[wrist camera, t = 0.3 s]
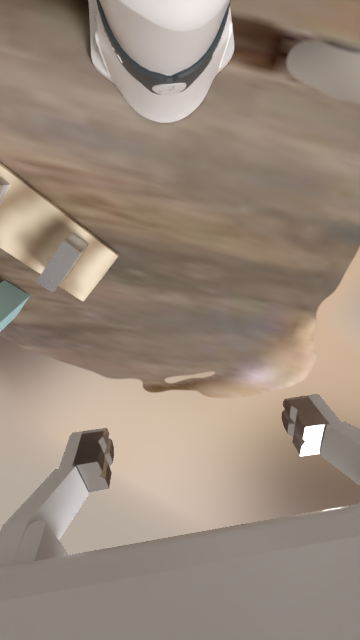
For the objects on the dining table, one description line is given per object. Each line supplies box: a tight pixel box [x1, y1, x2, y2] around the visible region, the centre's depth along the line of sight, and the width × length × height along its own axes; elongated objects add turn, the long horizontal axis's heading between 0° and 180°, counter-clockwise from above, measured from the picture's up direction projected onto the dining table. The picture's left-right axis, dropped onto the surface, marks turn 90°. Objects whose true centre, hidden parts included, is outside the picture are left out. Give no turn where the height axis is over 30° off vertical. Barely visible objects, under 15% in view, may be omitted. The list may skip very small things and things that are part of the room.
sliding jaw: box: [36, 233, 89, 293], centre depth 42 cm, size 3×9×5 cm, turn 138°
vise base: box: [0, 163, 119, 301], centre depth 41 cm, size 22×12×8 cm, turn 48°
